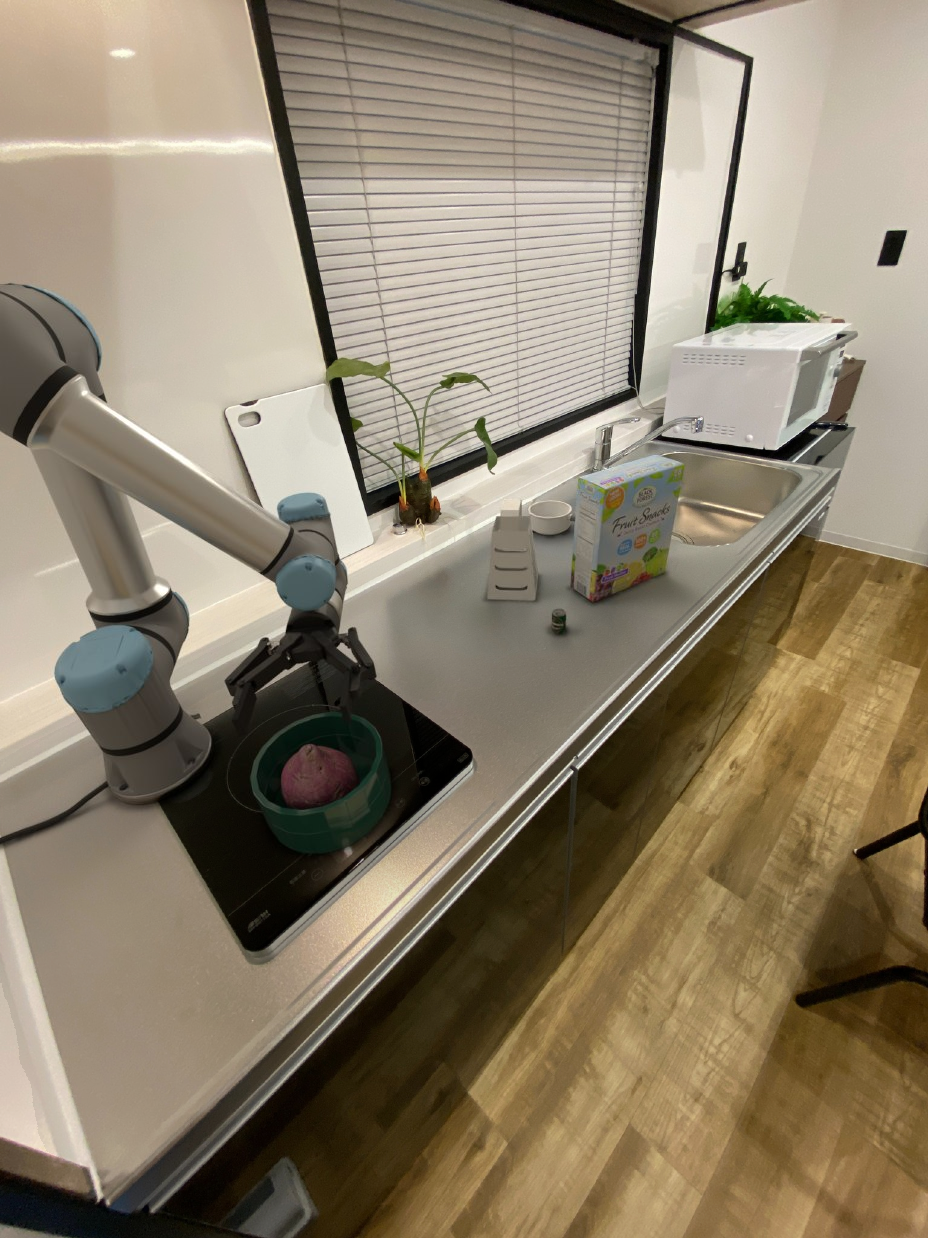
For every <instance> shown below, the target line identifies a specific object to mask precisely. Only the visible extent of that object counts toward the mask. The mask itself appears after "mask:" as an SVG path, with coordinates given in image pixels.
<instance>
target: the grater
mask: <svg viewBox="0 0 928 1238" xmlns="http://www.w3.org/2000/svg"><path fill="white" fill-rule="evenodd" d="M522 502H523V501H522V499H521V498H503V501H502V504H501V507H500V513H499V515H496V516H495V520H494V523H493V527H492V529H491V542H490V553H489V554H490V555H489V568H488V569H489V570H488V571H489V573H488V582H487V583H488V584H487V585H488V586H487V597H486V598H487V600H501V601H502V600H505V601H535V602H536V597H537V588H538V582H539V581H538V580H539V573H538V572H539V571H538V564H537V557H536V547H535V541H534V533H533V530H532V524H531V516H530V515H523V503H522ZM525 549H527V550H525ZM535 577H536V578H535ZM496 586H497V587H498V588H508V589H498V588H497V587H496ZM525 587H527V589H524V588H525ZM509 588H511V590H510V589H509ZM512 588H513V589H515V588H516V589H524V590H512Z"/></svg>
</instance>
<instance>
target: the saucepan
mask: <svg viewBox="0 0 928 1238" xmlns="http://www.w3.org/2000/svg"><path fill="white" fill-rule="evenodd" d="M572 510H573V507H572V506H571V504H569V503H567V502H564V501H561V500H550V499H549V500H541V501H537V502H534V503H532V504H531V505H530V506H528V508H527V511H528V513H529V516H531V524H532V532H533V531H534V532H536V533H537V534H540V535H545V536H554V535H559V534H561V533H563V532H565V531H567V530H568V529H569V528H570V526H571V525H570V524H571V522H575V516H576V513H571V512H572Z"/></svg>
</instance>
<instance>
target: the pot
mask: <svg viewBox="0 0 928 1238" xmlns="http://www.w3.org/2000/svg"><path fill="white" fill-rule="evenodd" d="M307 744H313V745H315V746H324V747H328V748H331V749H334V750H337V751H340V752H342V753H344V754H345V755H347V756H348V757H349V758H350V759H351V761H352V762H353V764H354V765H355V768H356V771H357V774H358V777H359V782H360V785H359V786H358V787H356V788H355V789H354V790H352V791H351V792H350V793H348V794H347V795H346V796H344V797H343V798H341V799H339V800H336V801H334V802H332V803H329V804H327V805H325V806H322V807H316V808H311V809H305V810H298V809H288V807H287V805H286V803H285V800H284V798H283V795H282V788H281V776H282V771H283V769H284V767H285V765H286V763H287V762H288V761H289V759H290V758H291V757H292V756H293V755H294V754H296V753H297V752H299V750H300V749H301V748H302V747H303V746H304V745H307ZM390 773H391V772H390V769H389V765H388V761H387V757H386V753H385V749H384V745H383V741H382V738H381V736H380V734H379V732H378V730H377V729H376V727H375V726H374V725H373V724H372V723H370V721H368V720H367V719H365V718H364V717H361V716H358V715H356V714H352V713H351V722H348V723H344V720H343V717H342V713H341V711H340V712H338V711H328V712H323V713H322V712H321V713H317V714H311V715H309V716H306V717H304V718H301V719H298V720H295V721H293V722H292V723H290V724H289V725H287V726H285V727H283V728H282V729H281V730H279V731H277V732H276V733H275V734H274V735H272V737H270V738H269V740H268V741H267V742H266V743H265V744H264V745H263V746H262V747H261V748H260V750H259V752H258V754H257V755H256V757H255V759H254V760H253V763H252V768H251V772H250V776H249V779H250V785H251V788H252V794H253V797H254V798H255V800H256V802H257V804H258V806H259V809H260V810H261V812H262V814H263V816H264V819H265V821H266V823H267V825H268V827H269V829H270V831H271V832H272V833H273V835H274V836H275V838H276V839H277V840H278V841H279V843H282V845H283V846H285V847H286V848H288V849H289V850H293V851H296V852H297V853H302V854H311V855H318V854H320V855H321V854H327V853H333V852H336V851H339V850H342V849H344V848H346V847H349V846H352V844H354V843H356V842H358V841H359V840H361V839H362V838H364V837H365V836H367V835H368V834H369V833H370V832H371V831H372V830H373V829H374V828H375V827H376V826H377V824H378V823H379V822H380V821H381V819H382V818H383V816H384V815H385V813H386V811H387V809H388V807H389V804H390V800H391V798H392V797H391V796H392V781H391V774H390Z"/></svg>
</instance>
